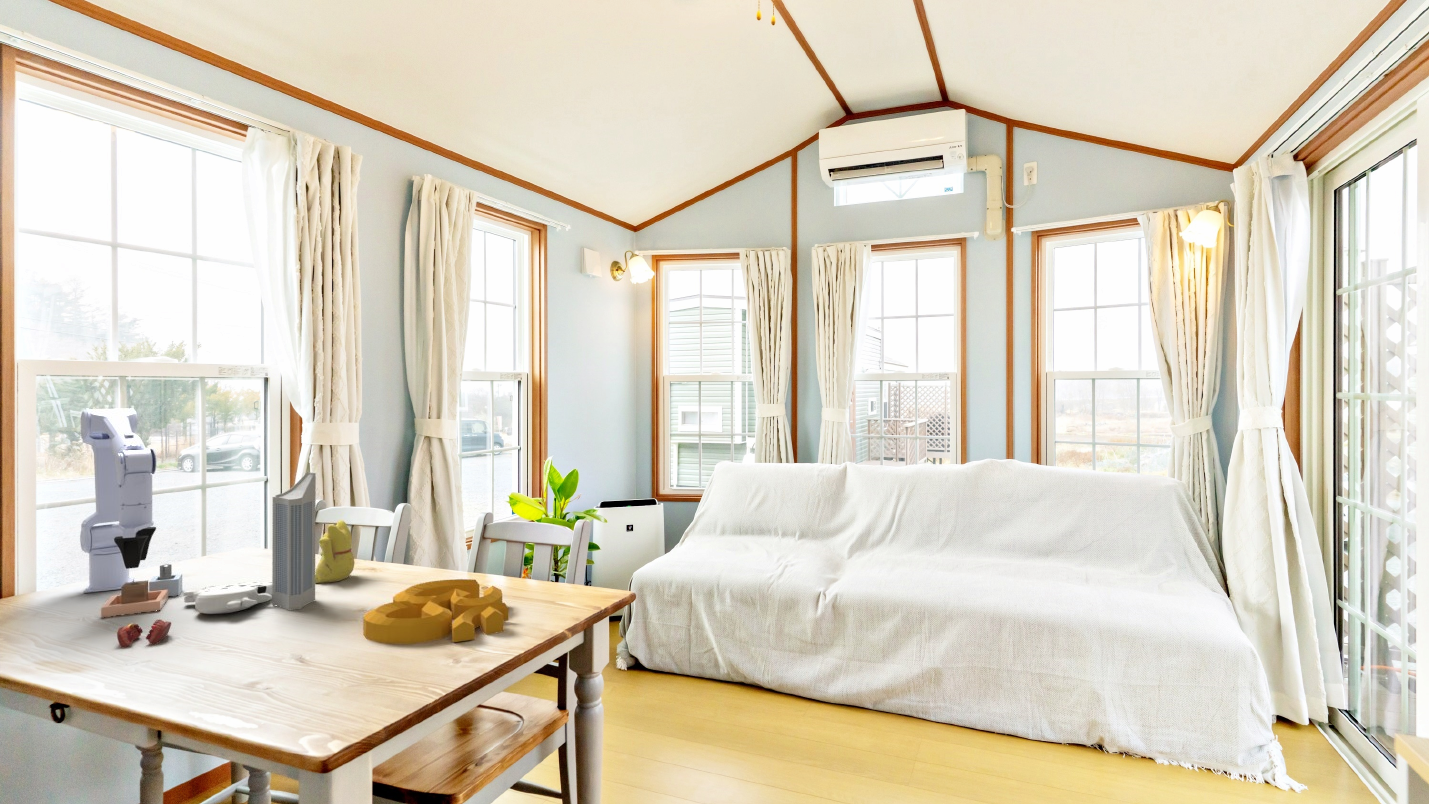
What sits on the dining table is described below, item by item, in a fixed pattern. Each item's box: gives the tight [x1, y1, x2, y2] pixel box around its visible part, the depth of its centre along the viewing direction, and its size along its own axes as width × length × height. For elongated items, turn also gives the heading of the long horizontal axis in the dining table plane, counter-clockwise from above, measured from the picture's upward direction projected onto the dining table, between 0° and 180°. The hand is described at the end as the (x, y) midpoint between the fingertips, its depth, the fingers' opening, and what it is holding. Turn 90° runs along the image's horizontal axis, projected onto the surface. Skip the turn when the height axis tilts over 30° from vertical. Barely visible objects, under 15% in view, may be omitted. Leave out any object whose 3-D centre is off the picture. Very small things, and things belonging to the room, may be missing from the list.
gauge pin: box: [159, 563, 173, 580], centre depth 165 cm, size 2×2×7 cm
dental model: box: [116, 619, 172, 648], centre depth 136 cm, size 6×4×8 cm
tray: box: [100, 590, 169, 619], centre depth 155 cm, size 10×10×2 cm
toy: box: [183, 581, 272, 615], centre depth 158 cm, size 22×5×20 cm
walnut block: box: [120, 579, 149, 604], centre depth 155 cm, size 4×4×5 cm
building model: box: [271, 471, 317, 611], centre depth 159 cm, size 8×8×30 cm
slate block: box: [148, 573, 183, 597], centre depth 166 cm, size 6×6×4 cm
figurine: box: [315, 519, 355, 584], centre depth 179 cm, size 11×9×15 cm
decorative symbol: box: [362, 578, 509, 645], centre depth 150 cm, size 30×5×30 cm
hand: (136, 563), depth 155 cm, fingers open, 7 cm apart
